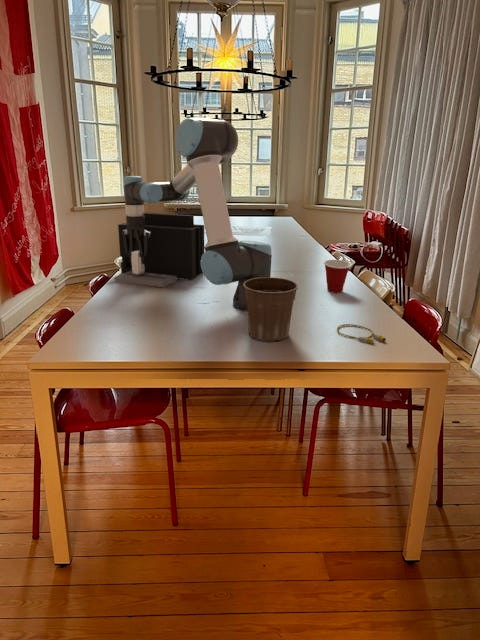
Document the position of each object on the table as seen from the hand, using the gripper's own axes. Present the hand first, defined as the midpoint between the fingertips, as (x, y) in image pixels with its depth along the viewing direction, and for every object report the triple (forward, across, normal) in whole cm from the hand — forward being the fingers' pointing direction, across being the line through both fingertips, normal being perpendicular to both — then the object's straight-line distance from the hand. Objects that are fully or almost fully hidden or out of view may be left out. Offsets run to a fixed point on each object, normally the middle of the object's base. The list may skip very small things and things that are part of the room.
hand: (138, 270), depth 199 cm
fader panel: (+4, -4, 0) cm, 6 cm away
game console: (+4, -3, -23) cm, 24 cm away
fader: (+2, 0, 0) cm, 2 cm away
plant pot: (+5, -71, +40) cm, 82 cm away
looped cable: (+5, -97, +29) cm, 101 cm away
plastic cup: (+4, -82, -17) cm, 84 cm away
